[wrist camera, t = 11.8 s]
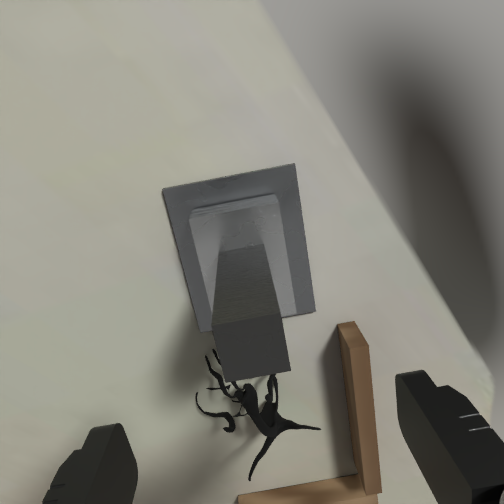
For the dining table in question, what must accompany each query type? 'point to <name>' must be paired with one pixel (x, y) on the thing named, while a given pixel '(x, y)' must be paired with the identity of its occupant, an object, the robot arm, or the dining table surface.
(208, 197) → the base
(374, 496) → the wooden l-shaped sticks
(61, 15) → the dining table surface
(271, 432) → the creature
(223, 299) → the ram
